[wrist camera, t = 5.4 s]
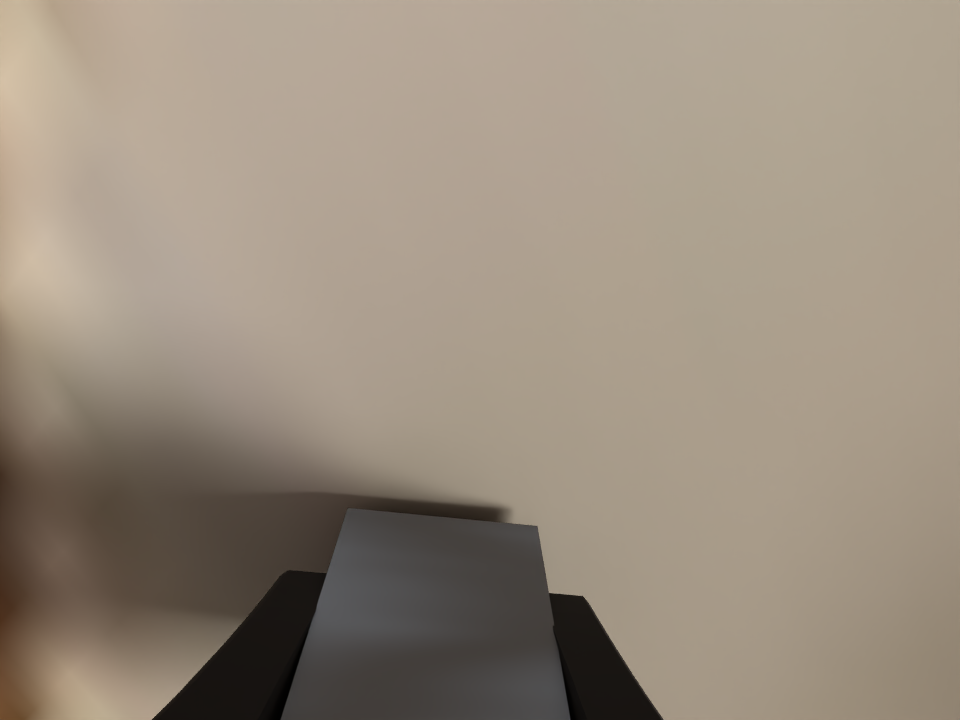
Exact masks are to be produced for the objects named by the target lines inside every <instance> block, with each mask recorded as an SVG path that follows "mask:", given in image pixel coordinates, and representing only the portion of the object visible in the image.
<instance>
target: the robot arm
mask: <svg viewBox="0 0 960 720" xmlns="http://www.w3.org/2000/svg"><path fill="white" fill-rule="evenodd" d="M326 575H327V574H326V573H315V572H303V571H292V570H288V571H287V572H285V573H284V574H282V575H281V576H280V577H279V578H278V580H277V581H276V582H275V584H274V585H273V586H272V587H271V589H270V590H269V591H268V592H267V594H266V595H265V596H264V597H263V599H262V600H261V601H260V602H259V604H258V605H257V606H256V607H255V608H254V610H253V611H252V612H251V613H250V614H249V616H248V617H247V618H246V619H245V620H244V621H243V623H242V624H241V625H240V626H239V627H238V628H237V630H236V631H235V632H234V633H233V634H232V635H231V636H230V638H229V639H228V640H227V641H226V642H225V643H224V644H223V646H222V647H221V648H220V649H219V650H218V651H217V652H216V653H215V654H214V655H213V656H212V658H211V659H210V660H209V661H208V662H207V663H206V664H205V665H204V666H203V667H202V668H201V669H200V671H199V672H198V673H197V674H196V675H195V676H194V677H193V678H192V679H191V680H190V681H189V682H188V684H187V685H186V686H185V687H184V688H183V689H182V690H181V691H180V692H179V693H178V694H177V695H176V696H175V697H174V698H173V699H172V700H171V701H170V702H169V703H168V704H167V705H166V706H165V707H164V708H163V709H162V710H161V711H160V712H159V713H158V714H157V715H156V716H155V717H154V718H153V719H152V720H281V717H282V714H283V711H284V708H285V704H286V701H287V698H288V695H289V692H290V689H291V685H292V682H293V679H294V676H295V673H296V670H297V666H298V663H299V660H300V657H301V654H302V651H303V648H304V644H305V641H306V638H307V635H308V632H309V629H310V625H311V622H312V619H313V616H314V614H315V612H316V608H317V603H318V600H319V597H320V594H321V591H322V588H323V584H324V581H325V578H326ZM549 597H550V603H551V609H552V615H553V621H554V626H553V631H554V636H555V639H556V643H557V646H558V650H559V656H560V662H561V667H562V673H563V679H564V685H565V691H566V697H567V702H568V708H569V714H570V720H663V718H662V717H661V715H660V714H659V713H658V711H657V710H656V708H655V707H654V705H653V704H652V702H651V701H650V700H649V698H648V697H647V695H646V694H645V692H644V691H643V689H642V688H641V686H640V685H639V683H638V682H637V680H636V679H635V677H634V676H633V674H632V672H631V671H630V669H629V668H628V666H627V665H626V663H625V661H624V660H623V658H622V657H621V655H620V654H619V652H618V650H617V649H616V647H615V646H614V644H613V642H612V641H611V639H610V638H609V636H608V634H607V633H606V631H605V629H604V628H603V626H602V624H601V623H600V621H599V619H598V618H597V616H596V614H595V613H594V611H593V610H592V608H591V606H590V605H589V603H588V602H587V600H586V599H585V598H584V597H583V596H575V595H564V594H552V593H549Z"/></svg>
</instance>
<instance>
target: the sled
mask: <svg viewBox="0 0 960 720" xmlns="http://www.w3.org/2000/svg"><path fill="white" fill-rule="evenodd" d="M553 626H554V621H553V615H552V609H551V603H550V597H549V591H548V586H547V580H546V574H545V568H544V562H543V556H542V551H541V545H540V539H539V533H538V527H537V526H532V525H521V524H511V523H500V522H490V521H479V520H469V519H458V518H448V517H437V516H427V515H416V514H406V513H395V512H385V511H374V510H364V509H353V508H348V509H347V512H346V515H345V518H344V521H343V524H342V528H341V531H340V534H339V537H338V540H337V543H336V547H335V550H334V553H333V556H332V559H331V562H330V565H329V569H328V572H327V575H326V578H325V581H324V584H323V588H322V591H321V594H320V597H319V600H318V603H317V608H316V612H315V614H314V616H313V619H312V622H311V625H310V629H309V632H308V635H307V638H306V641H305V644H304V648H303V651H302V654H301V657H300V660H299V663H298V666H297V670H296V673H295V676H294V679H293V682H292V685H291V689H290V692H289V695H288V698H287V701H286V704H285V708H284V711H283V714H282V717H281V720H570V714H569V708H568V702H567V697H566V691H565V685H564V679H563V673H562V667H561V662H560V656H559V650H558V646H557V643H556V639H555V636H554V631H553Z"/></svg>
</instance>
